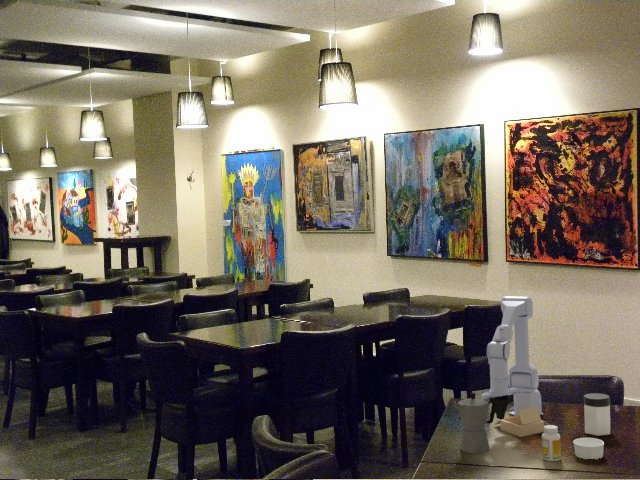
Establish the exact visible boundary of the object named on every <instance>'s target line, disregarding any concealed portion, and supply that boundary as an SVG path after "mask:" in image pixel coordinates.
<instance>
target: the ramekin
mask: <svg viewBox="0 0 640 480" xmlns="http://www.w3.org/2000/svg"><path fill="white" fill-rule="evenodd" d="M572 443H573V446H574V447H573V448H574V454H575V455H574V456H576V457H577V458H579V459H581V458H583V459H582V460H587V459H595V460H599V458H600V459H602V458H603V456H604V446H605V442H604V441H603V440H602V439H599V438H596V437H579V438H576V439H574V440H573V441H572Z"/></svg>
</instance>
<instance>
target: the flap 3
mask: <svg viewBox="0 0 640 480" xmlns="http://www.w3.org/2000/svg"><path fill="white" fill-rule="evenodd" d="M518 413H519V416H520V419H521V423H522V425H524V424H529V423H534V422H538V421H541V420H542V418H541V415H539V412H538V409H537V406H534V407H529V408H524V409H519V410H518Z"/></svg>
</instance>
